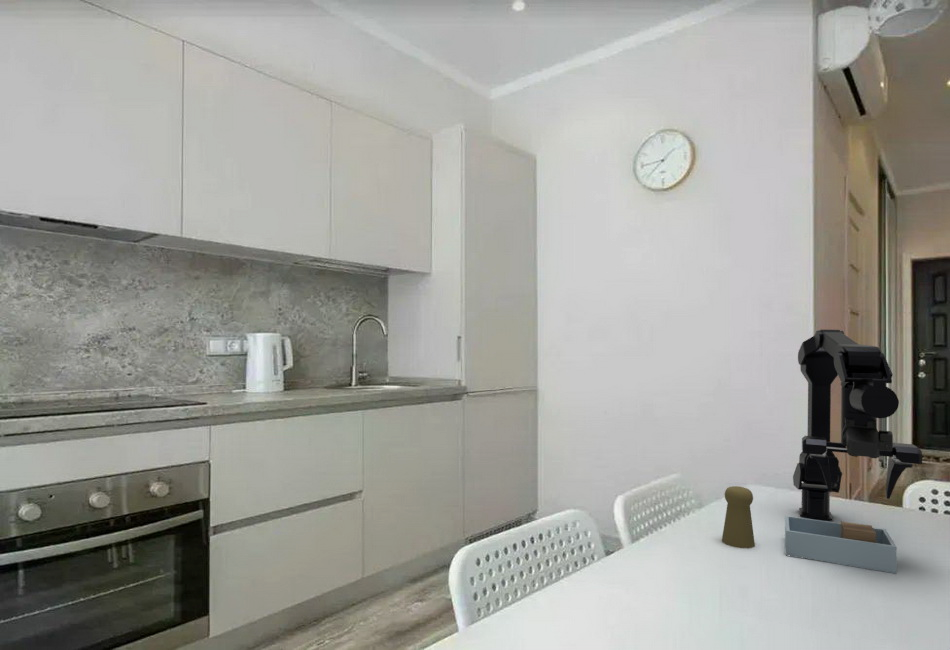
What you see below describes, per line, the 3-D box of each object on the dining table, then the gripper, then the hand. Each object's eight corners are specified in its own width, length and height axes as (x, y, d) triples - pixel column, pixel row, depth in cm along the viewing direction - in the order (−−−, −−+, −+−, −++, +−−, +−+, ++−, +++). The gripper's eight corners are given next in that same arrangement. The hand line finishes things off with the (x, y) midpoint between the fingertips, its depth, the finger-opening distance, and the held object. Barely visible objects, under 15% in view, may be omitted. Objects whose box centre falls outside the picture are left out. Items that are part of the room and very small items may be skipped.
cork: (748, 538, 121) (749, 484, 121) (759, 549, 115) (760, 492, 115) (717, 537, 122) (718, 483, 122) (727, 547, 116) (728, 490, 116)
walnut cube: (840, 547, 115) (840, 521, 115) (871, 552, 113) (871, 525, 113) (843, 555, 111) (843, 528, 111) (875, 560, 109) (875, 533, 109)
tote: (785, 538, 122) (785, 515, 122) (885, 553, 114) (885, 529, 114) (785, 555, 112) (786, 530, 112) (896, 573, 104) (896, 547, 104)
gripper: (804, 412, 110) (803, 497, 109) (929, 420, 101) (929, 513, 101) (801, 407, 119) (801, 485, 119) (915, 414, 111) (915, 498, 111)
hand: (858, 494), depth 112 cm, fingers open, 9 cm apart
